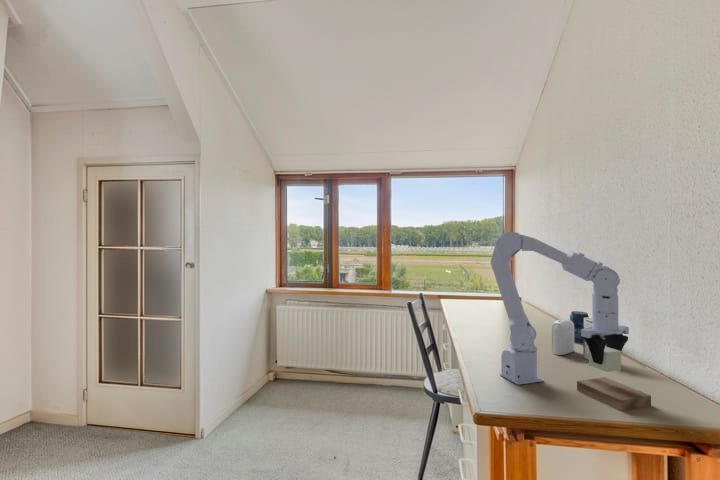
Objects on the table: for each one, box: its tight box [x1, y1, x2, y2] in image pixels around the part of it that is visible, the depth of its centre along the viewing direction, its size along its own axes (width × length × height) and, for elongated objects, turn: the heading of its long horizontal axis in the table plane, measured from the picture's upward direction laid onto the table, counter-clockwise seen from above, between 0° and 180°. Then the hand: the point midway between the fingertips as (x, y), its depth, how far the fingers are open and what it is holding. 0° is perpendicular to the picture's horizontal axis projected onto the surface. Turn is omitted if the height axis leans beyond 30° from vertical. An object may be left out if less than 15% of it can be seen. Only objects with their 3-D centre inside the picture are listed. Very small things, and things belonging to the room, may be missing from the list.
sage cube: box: [588, 346, 622, 373], centre depth 92 cm, size 5×5×5 cm
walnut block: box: [576, 376, 652, 412], centre depth 90 cm, size 10×12×3 cm
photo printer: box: [551, 318, 575, 356], centre depth 127 cm, size 10×4×12 cm, turn 123°
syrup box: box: [582, 316, 607, 361], centre depth 118 cm, size 6×6×14 cm
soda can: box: [569, 310, 590, 345], centre depth 140 cm, size 7×7×12 cm
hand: (605, 362), depth 92 cm, fingers closed on sage cube, 5 cm apart
